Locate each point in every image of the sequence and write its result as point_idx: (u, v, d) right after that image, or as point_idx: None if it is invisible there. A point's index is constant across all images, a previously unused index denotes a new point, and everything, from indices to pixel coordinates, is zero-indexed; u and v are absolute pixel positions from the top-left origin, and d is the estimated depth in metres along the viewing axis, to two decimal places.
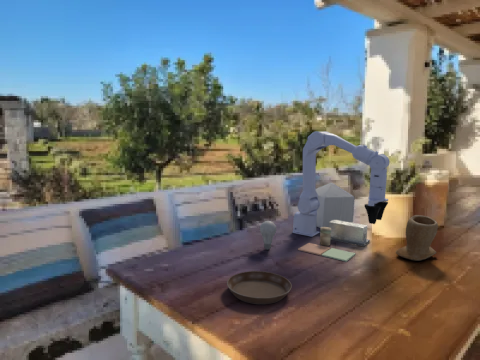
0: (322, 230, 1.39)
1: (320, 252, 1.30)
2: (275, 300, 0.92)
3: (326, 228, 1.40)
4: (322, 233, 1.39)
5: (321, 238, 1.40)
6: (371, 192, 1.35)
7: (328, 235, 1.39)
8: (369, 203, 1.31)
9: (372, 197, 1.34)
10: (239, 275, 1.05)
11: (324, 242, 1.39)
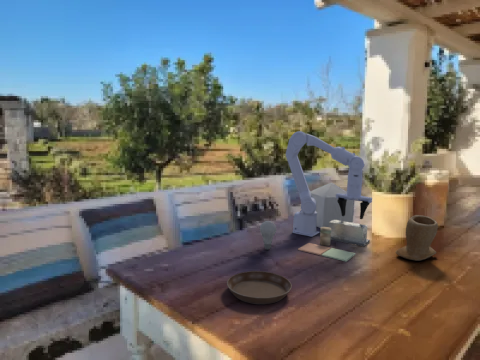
0: (322, 230, 1.39)
1: (320, 252, 1.30)
2: (275, 300, 0.92)
3: (326, 228, 1.40)
4: (322, 233, 1.39)
5: (321, 238, 1.40)
6: None
7: (328, 235, 1.39)
8: None
9: None
10: (239, 275, 1.05)
11: (324, 242, 1.39)
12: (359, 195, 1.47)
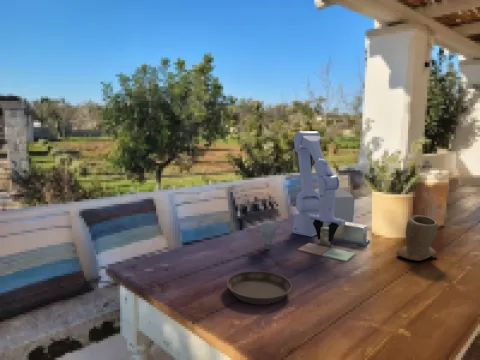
0: (322, 230, 1.39)
1: (320, 252, 1.30)
2: (275, 300, 0.92)
3: (326, 228, 1.40)
4: (322, 233, 1.39)
5: (321, 238, 1.40)
6: None
7: (328, 235, 1.39)
8: None
9: None
10: (239, 275, 1.05)
11: (324, 242, 1.39)
12: (331, 217, 1.37)
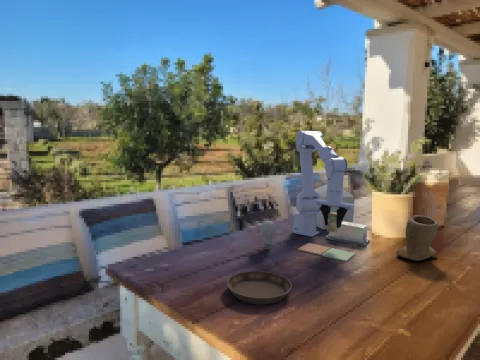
0: (330, 215, 1.32)
1: (320, 252, 1.30)
2: (275, 300, 0.92)
3: (334, 213, 1.33)
4: (329, 219, 1.32)
5: (329, 224, 1.33)
6: None
7: (336, 220, 1.32)
8: None
9: None
10: (239, 275, 1.05)
11: (332, 228, 1.32)
12: (340, 201, 1.30)
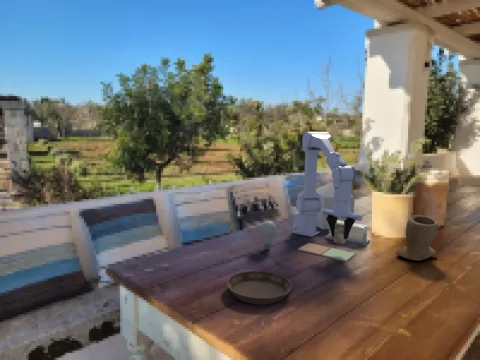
0: (337, 226, 1.26)
1: (320, 252, 1.30)
2: (275, 300, 0.92)
3: (341, 224, 1.27)
4: (336, 229, 1.26)
5: (335, 235, 1.27)
6: None
7: (343, 231, 1.26)
8: None
9: None
10: (239, 275, 1.05)
11: (339, 239, 1.26)
12: (347, 212, 1.24)
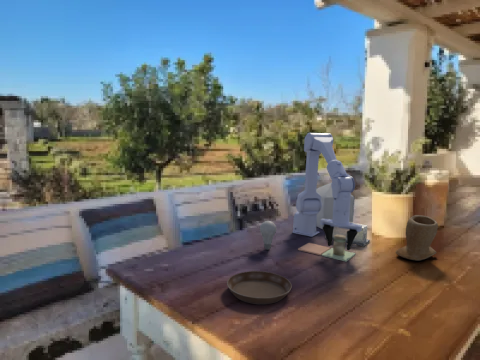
0: (336, 238, 1.27)
1: (320, 252, 1.30)
2: (275, 300, 0.92)
3: (340, 236, 1.28)
4: (336, 242, 1.27)
5: (335, 247, 1.28)
6: None
7: (342, 244, 1.26)
8: None
9: None
10: (239, 275, 1.05)
11: (338, 252, 1.27)
12: (347, 222, 1.25)
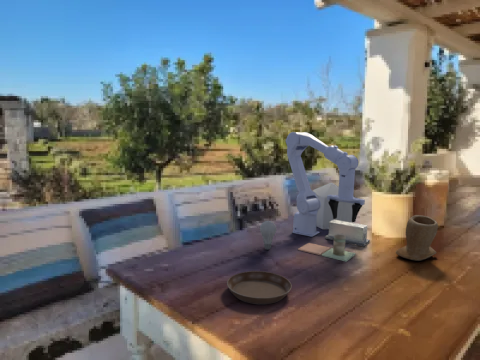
0: (336, 238, 1.27)
1: (320, 252, 1.30)
2: (275, 300, 0.92)
3: (340, 236, 1.28)
4: (336, 242, 1.27)
5: (335, 247, 1.28)
6: None
7: (342, 244, 1.27)
8: None
9: None
10: (239, 275, 1.05)
11: (338, 252, 1.27)
12: (351, 197, 1.38)
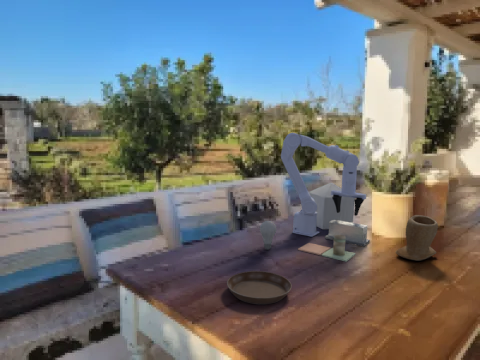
0: (336, 238, 1.27)
1: (320, 252, 1.30)
2: (275, 300, 0.92)
3: (340, 236, 1.28)
4: (336, 242, 1.27)
5: (335, 247, 1.28)
6: None
7: (342, 244, 1.26)
8: None
9: None
10: (239, 275, 1.05)
11: (338, 252, 1.27)
12: (353, 192, 1.48)
